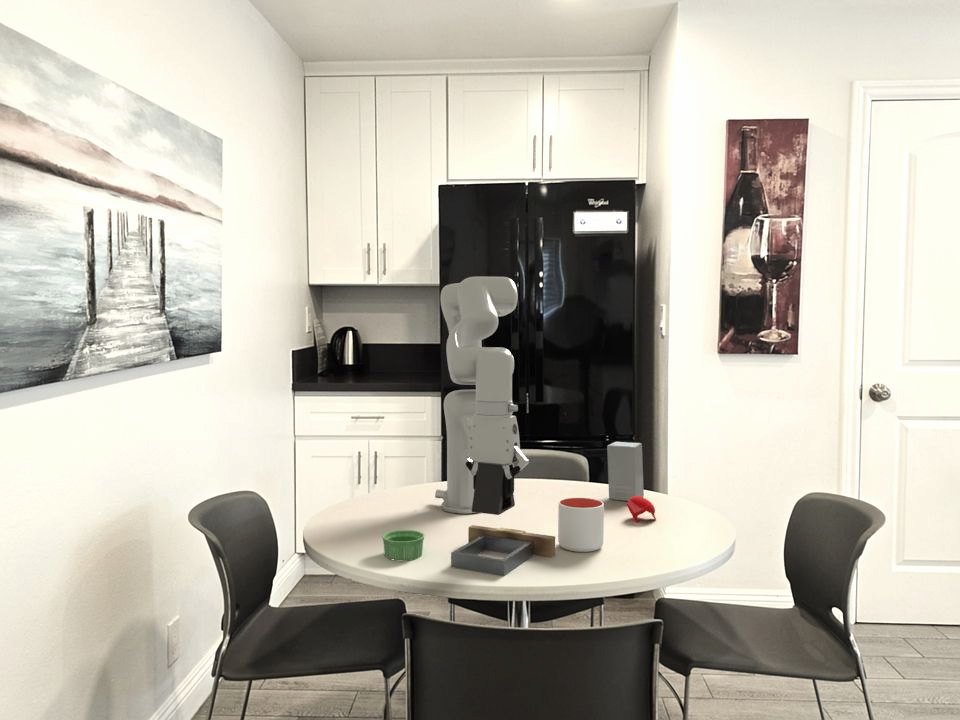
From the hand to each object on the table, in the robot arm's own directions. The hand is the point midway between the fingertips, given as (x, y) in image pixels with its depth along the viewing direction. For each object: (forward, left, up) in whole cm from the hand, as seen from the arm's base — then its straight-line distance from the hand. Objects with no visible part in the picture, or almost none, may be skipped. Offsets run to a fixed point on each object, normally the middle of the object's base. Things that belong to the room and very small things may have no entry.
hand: (493, 494), depth 165 cm
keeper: (0, 0, -14) cm, 14 cm away
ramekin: (-19, -5, -15) cm, 25 cm away
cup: (+13, +18, -14) cm, 27 cm away
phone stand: (0, 0, -3) cm, 3 cm away
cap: (+19, +47, -14) cm, 53 cm away
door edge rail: (0, +9, -14) cm, 17 cm away
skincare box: (+9, +67, -14) cm, 69 cm away
